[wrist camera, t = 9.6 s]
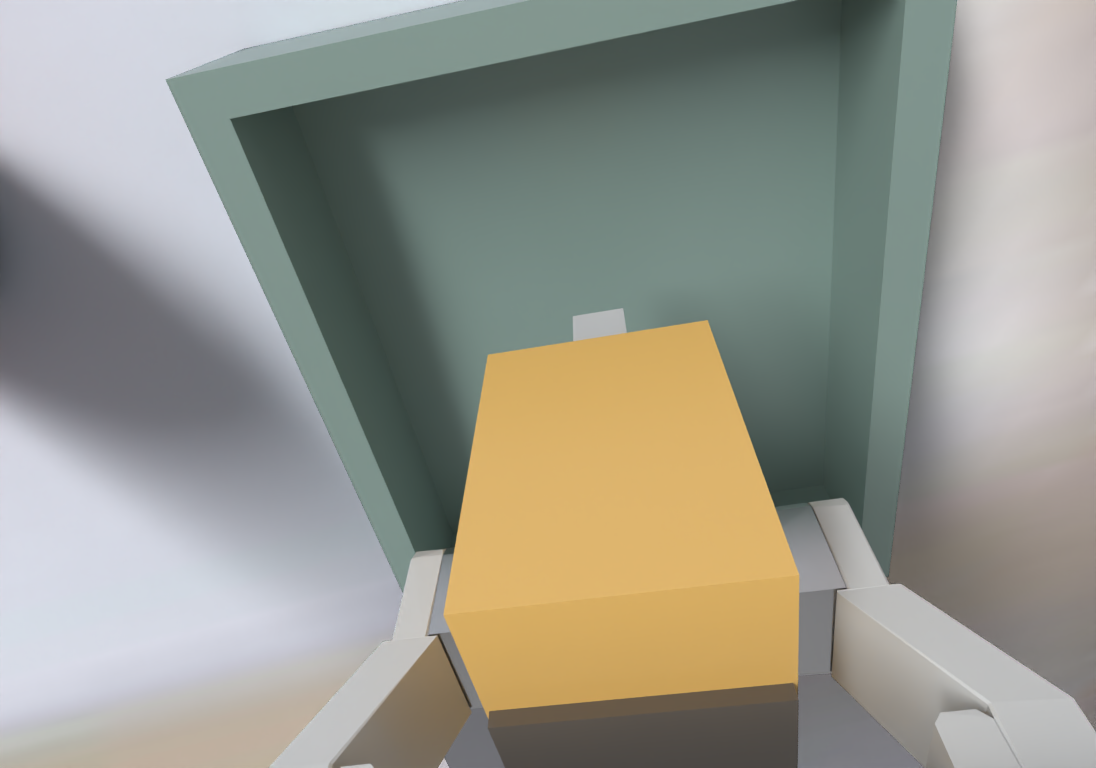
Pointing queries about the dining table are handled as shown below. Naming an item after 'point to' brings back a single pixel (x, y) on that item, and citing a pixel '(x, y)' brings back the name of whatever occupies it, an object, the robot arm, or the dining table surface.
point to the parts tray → (591, 219)
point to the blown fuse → (624, 560)
